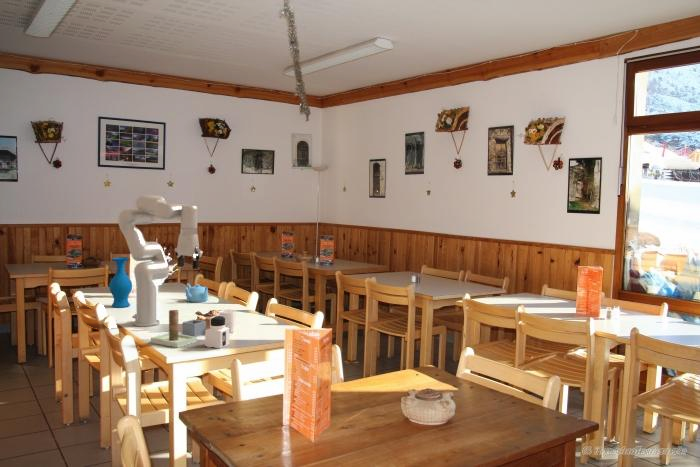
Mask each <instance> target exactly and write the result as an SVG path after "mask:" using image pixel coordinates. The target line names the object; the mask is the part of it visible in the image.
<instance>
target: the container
mask: <svg viewBox="0 0 700 467" xmlns="http://www.w3.org/2000/svg"><path fill="white" fill-rule="evenodd" d="M204 335H205V338H204V341H205V342H204V344H205V345H204V347H205V346H207V347H206V348H211V347H215V348H214V349H219V348H221V349H223V348H225V347H227V346H229V345H230V333H229V328H227V327H225V317H223V316H219V315H215V316H211V317H210V318H209V328H206V330H205V334H204ZM222 347H223V348H222Z"/></svg>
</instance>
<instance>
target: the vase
mask: <svg viewBox="0 0 700 467" xmlns="http://www.w3.org/2000/svg"><path fill="white" fill-rule="evenodd" d="M112 259H113V261H114V262H115V263H116V272H115V275H114V276H113V277H112V279H111V280H110V282H109V285H108V287H109V292H110V293H111V295H112V297H113V302H112V304H111V308H127V307H130V306H131V303H130V302H129V296H130V293H131V292H132V288H133V283H132V281H131V279H130V278H129V276H128V274H127V273H126V271H125V264H126V262H127V261H128V260H129V257H124V256H122V257H113V258H112Z"/></svg>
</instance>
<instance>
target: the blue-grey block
mask: <svg viewBox="0 0 700 467" xmlns="http://www.w3.org/2000/svg"><path fill="white" fill-rule="evenodd" d="M206 329H207V321H205V320H200V319H190V320H186V321H183V322H182V335H188V336H193V337H197V338H198V337H200V336H203V335H205V330H206Z"/></svg>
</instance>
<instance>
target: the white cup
mask: <svg viewBox="0 0 700 467" xmlns="http://www.w3.org/2000/svg"><path fill="white" fill-rule="evenodd" d="M236 312H237V311H236V310H234V309H222V310H219V312H218V316H223V317H225V327H227V328H229V334H230V333H231V334H232V333H234V332H235V326H236Z"/></svg>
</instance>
